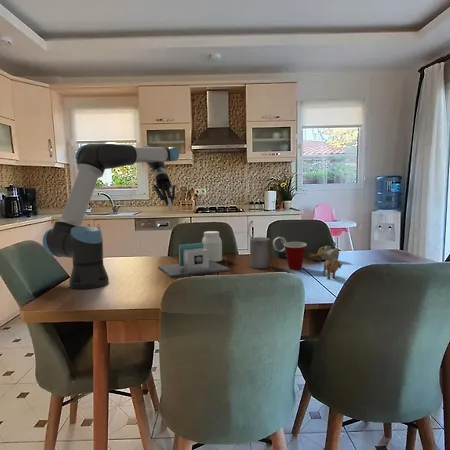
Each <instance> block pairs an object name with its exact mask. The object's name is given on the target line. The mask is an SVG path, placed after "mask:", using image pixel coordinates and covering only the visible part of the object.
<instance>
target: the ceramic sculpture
mask: <svg viewBox="0 0 450 450" xmlns="http://www.w3.org/2000/svg"><path fill="white" fill-rule="evenodd" d="M339 256H340V249H339V247H338V248H335V249H334V248H332V246H331V245H329V244H325V246H321V247H319V248H318V250H317V253H316V254H312V255H308V257H310V258H312V259H313V260H321V261H323V260H329V261H330V260H332V259H338V260H339Z"/></svg>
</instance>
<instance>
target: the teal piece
mask: <svg viewBox="0 0 450 450" xmlns="http://www.w3.org/2000/svg"><path fill="white" fill-rule="evenodd" d="M193 248H204V243H202V242H197V243H184V244H178V255H179V256H178V257H179V260H178V262H179V263H178V264H179V265H180V266H183V254H182V249H193ZM194 261H195V262H197V263H199V264H201V263H203V258H202V257H199V256H194Z"/></svg>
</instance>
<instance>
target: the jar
mask: <svg viewBox="0 0 450 450" xmlns="http://www.w3.org/2000/svg"><path fill="white" fill-rule="evenodd" d="M201 243H204V249H207V250H209V261H210V260H211V261H214V262H216V263H218V262H221V261H223V246H222V245H223V241H222V238H221V237H220V231H215V230H209V231H204V232H203V237H202V239H201Z"/></svg>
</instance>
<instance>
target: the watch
mask: <svg viewBox="0 0 450 450" xmlns="http://www.w3.org/2000/svg"><path fill="white" fill-rule="evenodd" d="M278 239H280V242H281V244H282V245H283V248H282V249H280V250H279V249H278V247H277V246H276V241H278ZM284 243H287V240H286V238H284V236H283V237H281V236H277V237H275V238H274V239H273V240H272V247H273V249H274V252H273V253H274V257H275V258H277V259H284V258H283V257H286V258H287V255H286V250H285V247H284Z"/></svg>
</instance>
